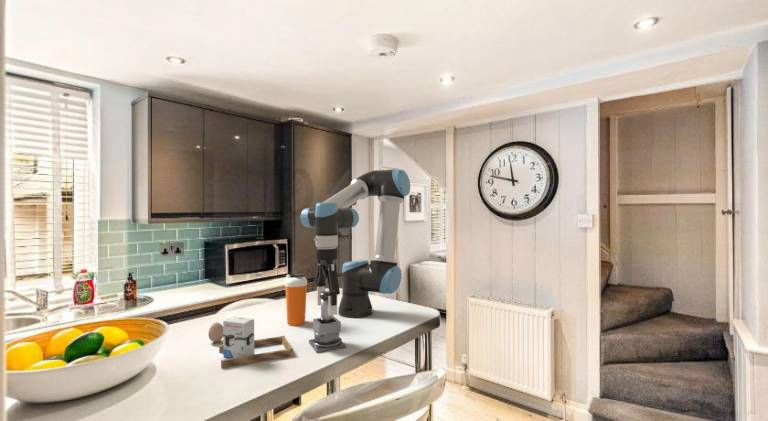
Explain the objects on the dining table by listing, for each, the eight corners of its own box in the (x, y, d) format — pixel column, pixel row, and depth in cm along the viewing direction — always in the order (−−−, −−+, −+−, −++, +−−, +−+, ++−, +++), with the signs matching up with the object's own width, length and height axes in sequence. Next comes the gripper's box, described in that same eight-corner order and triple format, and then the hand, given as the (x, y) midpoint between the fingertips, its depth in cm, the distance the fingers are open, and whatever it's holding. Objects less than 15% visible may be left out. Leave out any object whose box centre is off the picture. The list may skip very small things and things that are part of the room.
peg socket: (336, 338, 137) (336, 314, 137) (345, 347, 128) (345, 322, 128) (308, 342, 132) (308, 318, 132) (316, 352, 123) (316, 326, 123)
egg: (216, 345, 130) (216, 325, 130) (205, 343, 132) (204, 323, 132) (227, 340, 135) (227, 321, 135) (216, 338, 137) (216, 319, 137)
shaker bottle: (302, 327, 149) (301, 276, 149) (280, 325, 151) (280, 275, 151) (310, 320, 158) (310, 272, 158) (290, 319, 160) (290, 271, 160)
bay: (284, 341, 134) (284, 335, 134) (292, 355, 121) (292, 349, 121) (219, 351, 125) (219, 345, 125) (221, 367, 112) (221, 361, 112)
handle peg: (331, 327, 133) (331, 290, 133) (335, 331, 129) (335, 293, 129) (318, 329, 131) (318, 292, 131) (322, 333, 127) (322, 295, 127)
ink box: (222, 357, 120) (222, 320, 120) (233, 351, 125) (233, 316, 124) (244, 361, 117) (244, 323, 117) (255, 355, 122) (254, 318, 121)
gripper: (306, 244, 139) (306, 302, 140) (326, 252, 117) (327, 321, 117) (326, 243, 142) (326, 300, 143) (349, 251, 120) (349, 317, 120)
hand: (326, 309), depth 130 cm, fingers open, 13 cm apart
